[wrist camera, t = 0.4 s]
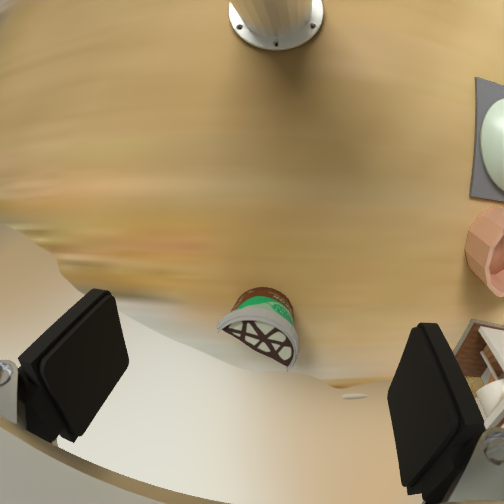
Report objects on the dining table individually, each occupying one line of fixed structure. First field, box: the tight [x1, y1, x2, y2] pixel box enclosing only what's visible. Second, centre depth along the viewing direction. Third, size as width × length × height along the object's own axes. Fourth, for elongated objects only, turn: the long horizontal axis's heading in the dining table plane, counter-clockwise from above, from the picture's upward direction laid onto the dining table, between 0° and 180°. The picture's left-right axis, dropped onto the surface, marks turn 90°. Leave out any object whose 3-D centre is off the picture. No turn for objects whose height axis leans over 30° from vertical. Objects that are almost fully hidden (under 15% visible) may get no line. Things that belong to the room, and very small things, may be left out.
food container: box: [217, 287, 300, 372], centre depth 45 cm, size 12×6×10 cm, turn 58°
